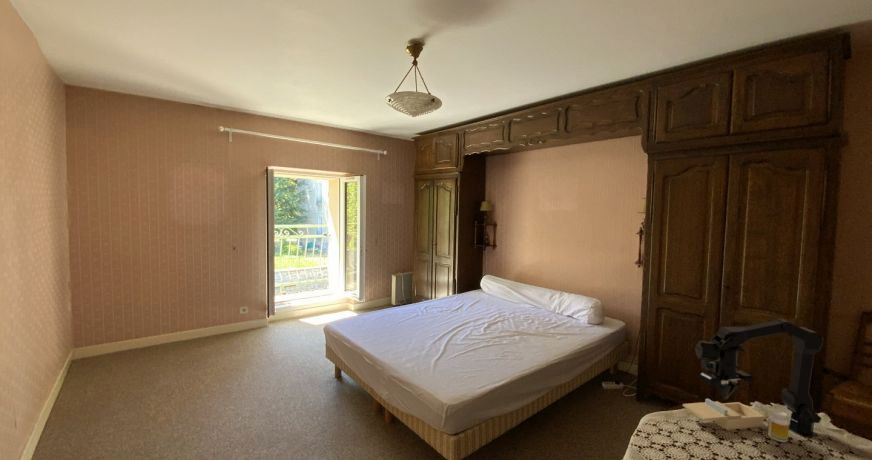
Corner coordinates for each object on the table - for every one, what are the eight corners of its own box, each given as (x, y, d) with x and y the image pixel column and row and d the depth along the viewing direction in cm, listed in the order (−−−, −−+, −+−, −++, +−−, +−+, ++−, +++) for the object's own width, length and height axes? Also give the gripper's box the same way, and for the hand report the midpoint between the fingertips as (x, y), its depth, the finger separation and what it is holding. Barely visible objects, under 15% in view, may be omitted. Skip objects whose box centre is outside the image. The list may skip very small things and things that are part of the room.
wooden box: (738, 412, 149) (739, 402, 149) (763, 427, 139) (764, 416, 139) (704, 415, 147) (704, 404, 146) (726, 430, 137) (727, 419, 137)
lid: (717, 403, 147) (718, 396, 147) (741, 417, 137) (741, 410, 137) (682, 405, 145) (683, 399, 145) (704, 420, 135) (704, 413, 135)
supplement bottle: (791, 443, 130) (793, 417, 129) (774, 441, 131) (776, 415, 130) (780, 434, 135) (782, 409, 134) (764, 432, 136) (765, 407, 135)
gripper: (729, 351, 150) (726, 387, 151) (689, 353, 147) (687, 389, 148) (756, 362, 139) (753, 401, 140) (713, 365, 136) (710, 404, 137)
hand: (724, 398), depth 142 cm, fingers closed
